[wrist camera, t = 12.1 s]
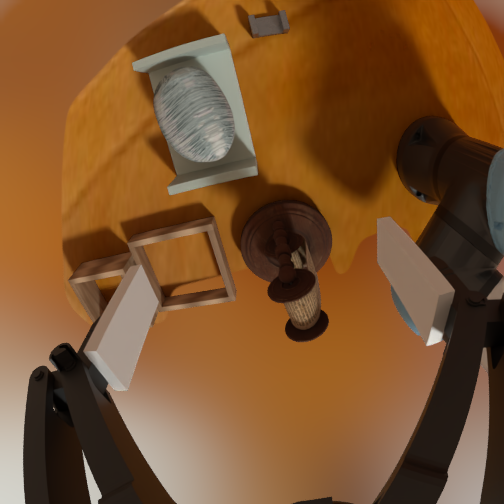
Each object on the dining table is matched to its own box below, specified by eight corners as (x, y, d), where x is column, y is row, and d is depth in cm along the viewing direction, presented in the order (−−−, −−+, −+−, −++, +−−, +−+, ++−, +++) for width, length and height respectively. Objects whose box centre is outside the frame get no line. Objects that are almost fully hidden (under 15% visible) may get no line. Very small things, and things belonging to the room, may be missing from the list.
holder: (228, 43, 34) (224, 33, 28) (256, 163, 43) (257, 174, 37) (149, 66, 35) (132, 62, 29) (181, 180, 44) (169, 195, 38)
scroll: (337, 260, 52) (372, 341, 34) (259, 285, 54) (262, 374, 37) (314, 184, 45) (353, 245, 27) (226, 215, 47) (212, 292, 30)
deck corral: (214, 216, 47) (211, 223, 45) (236, 290, 55) (235, 300, 52) (133, 235, 49) (127, 243, 46) (162, 302, 56) (159, 311, 54)
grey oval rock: (134, 85, 33) (148, 83, 26) (195, 58, 35) (226, 52, 28) (171, 165, 42) (194, 185, 35) (224, 137, 44) (258, 150, 37)
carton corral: (134, 250, 50) (122, 268, 45) (160, 306, 57) (152, 326, 52) (81, 263, 52) (68, 280, 47) (109, 313, 58) (99, 332, 53)
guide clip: (282, 15, 32) (284, 10, 29) (287, 33, 33) (289, 28, 30) (248, 21, 32) (248, 15, 30) (252, 38, 34) (252, 34, 31)
